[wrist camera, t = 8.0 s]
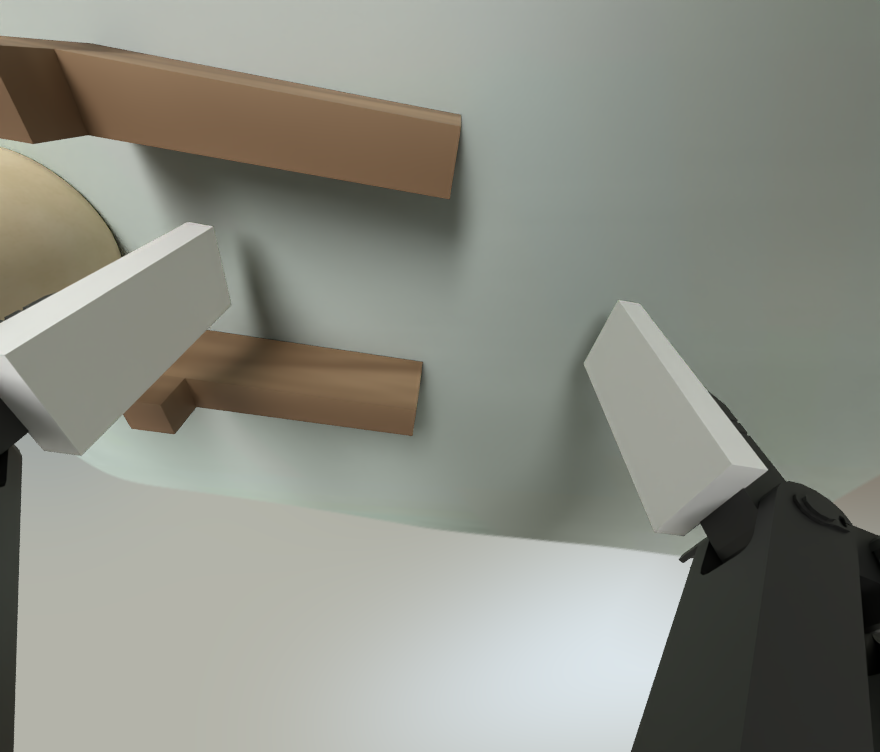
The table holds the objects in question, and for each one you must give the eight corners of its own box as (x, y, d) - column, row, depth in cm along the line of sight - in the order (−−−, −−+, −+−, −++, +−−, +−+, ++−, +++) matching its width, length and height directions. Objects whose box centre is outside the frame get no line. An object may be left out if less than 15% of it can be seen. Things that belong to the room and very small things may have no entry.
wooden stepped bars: (91, 44, 10) (-108, 26, 6) (461, 114, 10) (461, 135, 7) (199, 355, 16) (131, 428, 13) (418, 386, 17) (408, 464, 14)
